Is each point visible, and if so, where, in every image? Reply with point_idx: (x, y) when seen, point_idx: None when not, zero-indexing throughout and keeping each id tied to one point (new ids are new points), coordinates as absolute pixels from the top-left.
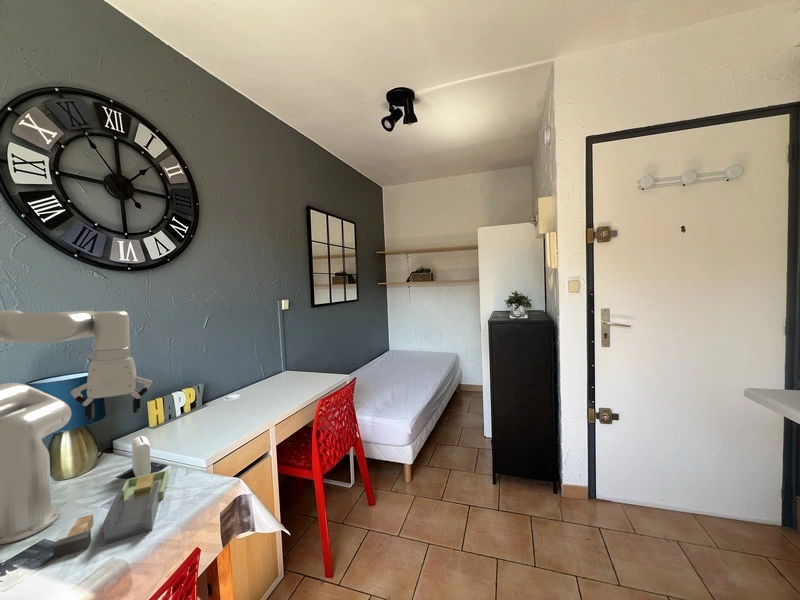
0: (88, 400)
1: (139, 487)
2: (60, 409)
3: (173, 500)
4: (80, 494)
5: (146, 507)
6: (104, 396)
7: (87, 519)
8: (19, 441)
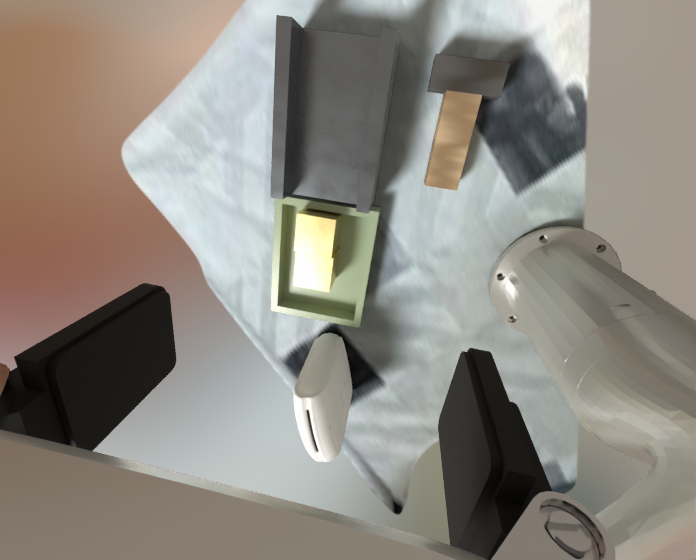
0: None
1: (323, 226)
2: None
3: (260, 164)
4: (450, 353)
5: (290, 30)
6: (291, 516)
7: (437, 162)
8: None
